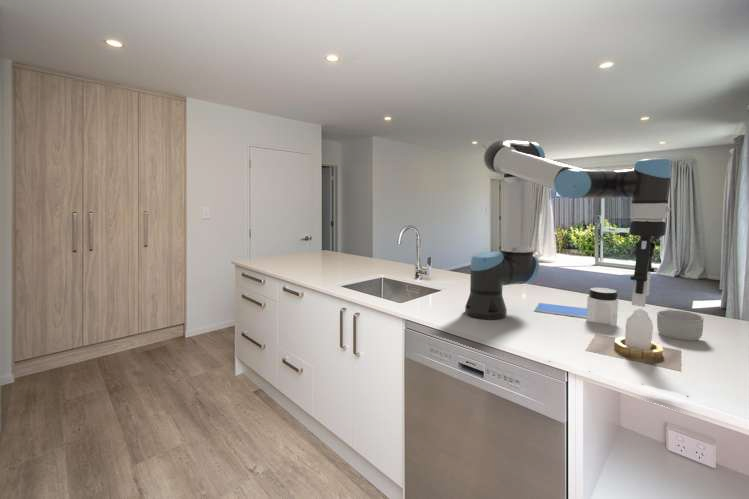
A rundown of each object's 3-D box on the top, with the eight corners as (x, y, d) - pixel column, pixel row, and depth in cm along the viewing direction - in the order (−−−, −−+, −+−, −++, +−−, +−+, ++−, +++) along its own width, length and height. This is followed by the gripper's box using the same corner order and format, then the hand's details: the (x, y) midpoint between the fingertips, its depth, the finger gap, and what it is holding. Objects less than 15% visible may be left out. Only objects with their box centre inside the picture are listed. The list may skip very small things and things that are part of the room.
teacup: (705, 349, 101) (708, 322, 100) (657, 342, 107) (659, 316, 106) (694, 334, 113) (697, 309, 112) (651, 328, 119) (653, 305, 118)
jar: (607, 330, 118) (610, 294, 117) (582, 323, 125) (584, 289, 123) (620, 324, 123) (622, 290, 121) (595, 318, 130) (597, 286, 128)
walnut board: (585, 355, 98) (585, 350, 98) (595, 338, 110) (595, 334, 110) (680, 377, 85) (681, 371, 85) (680, 355, 97) (681, 350, 97)
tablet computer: (533, 312, 140) (533, 309, 139) (538, 305, 150) (538, 302, 150) (591, 320, 129) (591, 317, 129) (592, 311, 140) (592, 308, 140)
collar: (611, 352, 96) (612, 345, 96) (617, 341, 104) (617, 334, 104) (661, 363, 90) (661, 355, 89) (662, 350, 98) (663, 343, 97)
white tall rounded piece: (646, 305, 98) (660, 311, 92) (642, 347, 99) (656, 355, 94) (622, 305, 99) (635, 311, 93) (619, 346, 100) (631, 355, 95)
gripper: (664, 223, 81) (655, 314, 84) (668, 218, 100) (660, 292, 103) (624, 222, 86) (617, 308, 89) (634, 218, 105) (628, 289, 107)
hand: (640, 300), depth 96 cm, fingers open, 13 cm apart
